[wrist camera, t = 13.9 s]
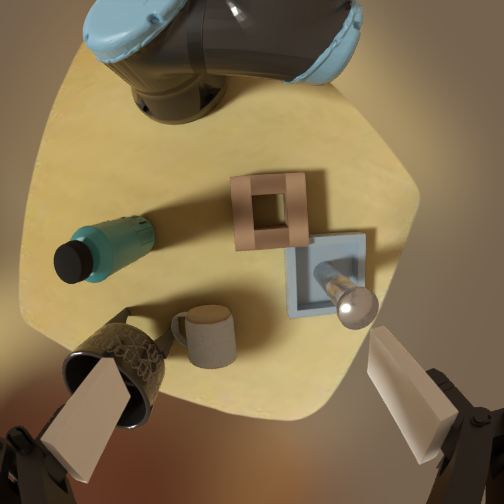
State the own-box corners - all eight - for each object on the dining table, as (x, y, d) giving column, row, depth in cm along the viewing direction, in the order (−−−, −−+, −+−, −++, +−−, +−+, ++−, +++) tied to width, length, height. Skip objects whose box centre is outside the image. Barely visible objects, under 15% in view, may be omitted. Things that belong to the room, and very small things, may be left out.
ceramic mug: (234, 300, 43) (229, 321, 35) (238, 345, 44) (235, 371, 37) (169, 302, 43) (154, 322, 36) (177, 345, 45) (165, 370, 37)
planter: (170, 295, 43) (127, 351, 25) (188, 362, 45) (164, 433, 28) (105, 302, 43) (47, 349, 26) (126, 364, 45) (86, 424, 28)
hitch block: (231, 179, 39) (229, 176, 35) (299, 174, 39) (304, 172, 35) (237, 246, 41) (235, 251, 37) (303, 241, 41) (309, 245, 37)
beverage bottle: (162, 216, 40) (93, 233, 21) (157, 258, 42) (93, 304, 22) (124, 211, 40) (43, 224, 20) (121, 252, 41) (44, 290, 22)
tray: (283, 236, 41) (286, 239, 38) (358, 231, 41) (365, 233, 38) (286, 311, 43) (289, 318, 40) (357, 303, 43) (363, 309, 40)
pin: (309, 259, 41) (339, 292, 26) (338, 257, 41) (380, 286, 26) (310, 288, 42) (338, 332, 27) (338, 285, 42) (376, 326, 27)
